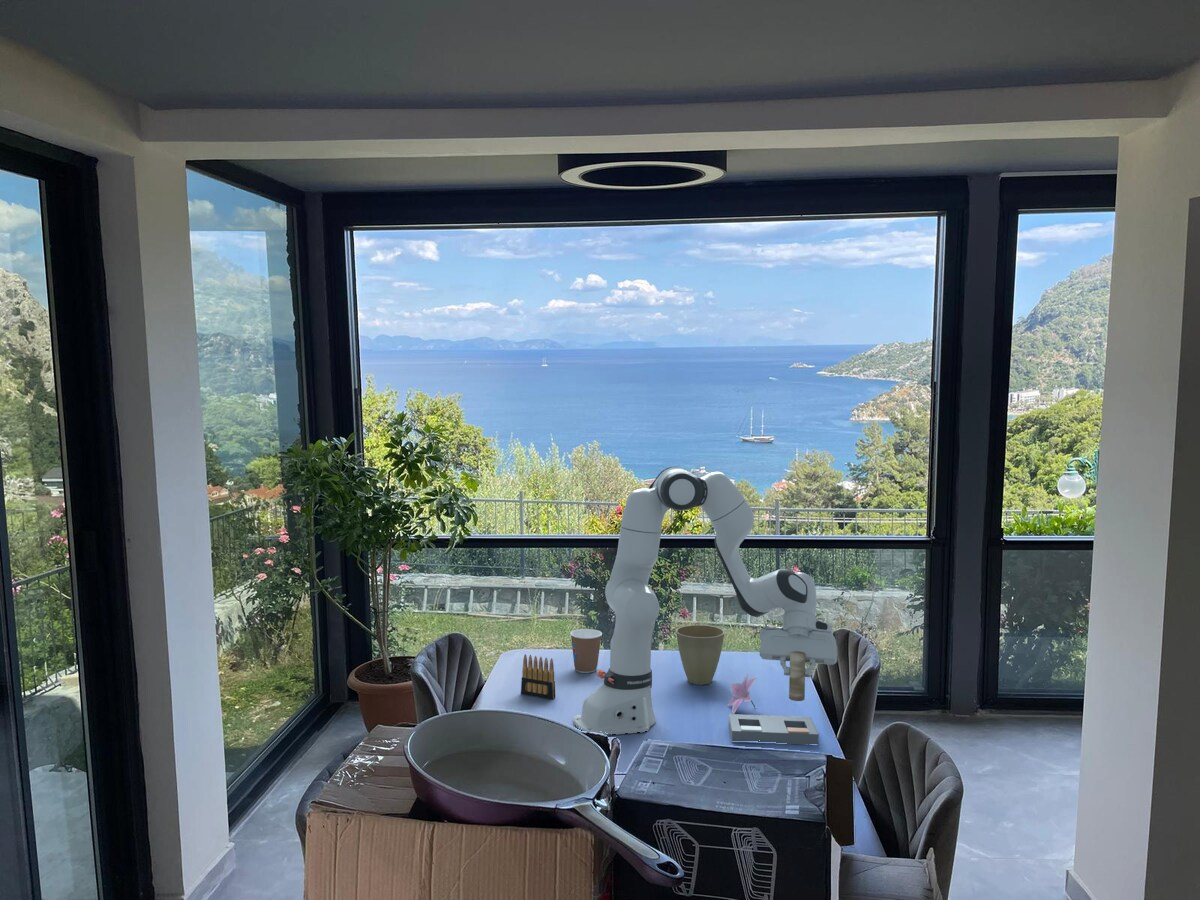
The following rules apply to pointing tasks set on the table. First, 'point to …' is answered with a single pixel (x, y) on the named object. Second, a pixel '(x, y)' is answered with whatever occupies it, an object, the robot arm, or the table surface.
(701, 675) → the plant pot
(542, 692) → the ammunition clip
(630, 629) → the robot arm
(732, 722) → the socket deck
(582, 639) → the coffee cup
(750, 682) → the lily
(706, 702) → the table surface
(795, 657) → the peg
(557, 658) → the table surface
